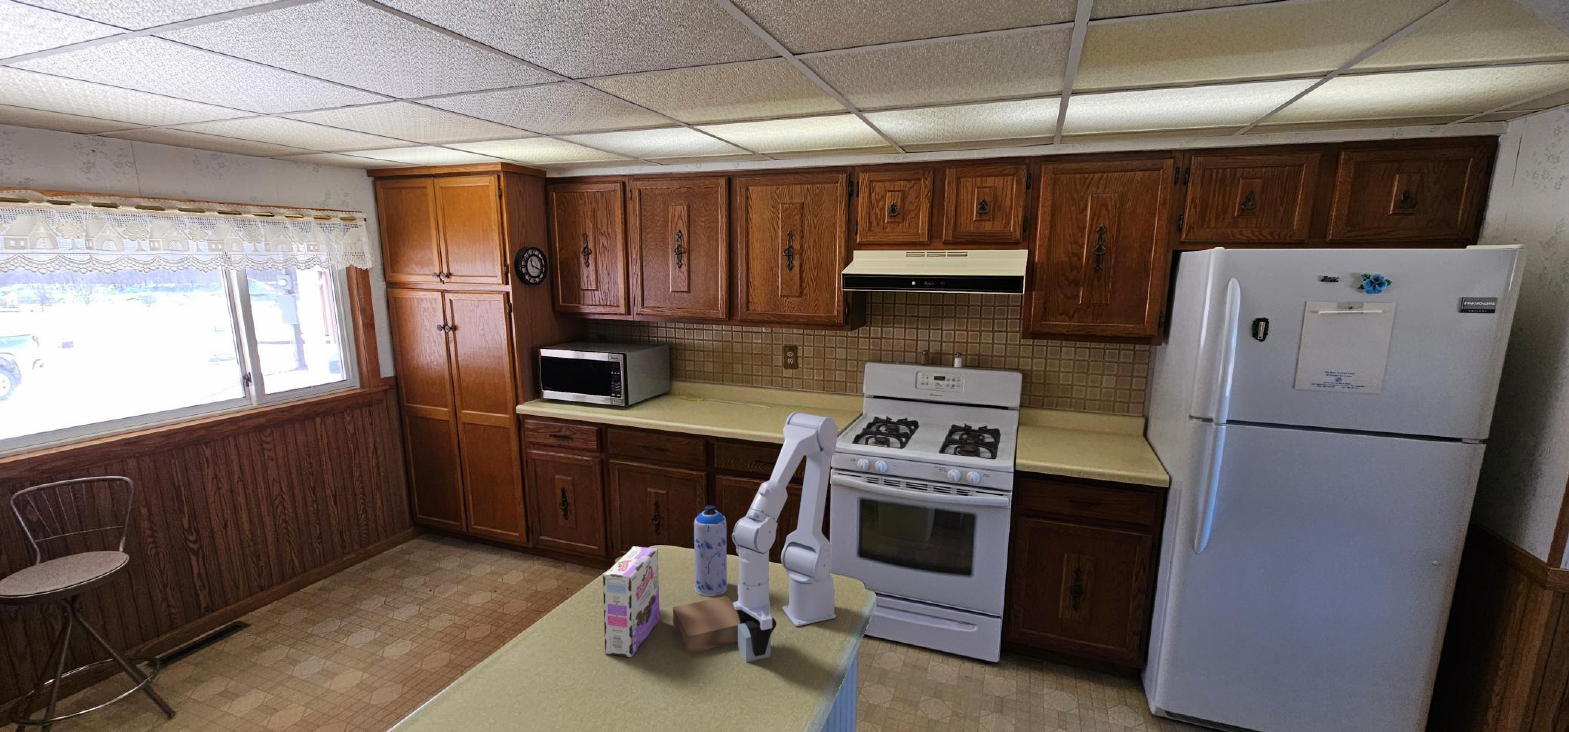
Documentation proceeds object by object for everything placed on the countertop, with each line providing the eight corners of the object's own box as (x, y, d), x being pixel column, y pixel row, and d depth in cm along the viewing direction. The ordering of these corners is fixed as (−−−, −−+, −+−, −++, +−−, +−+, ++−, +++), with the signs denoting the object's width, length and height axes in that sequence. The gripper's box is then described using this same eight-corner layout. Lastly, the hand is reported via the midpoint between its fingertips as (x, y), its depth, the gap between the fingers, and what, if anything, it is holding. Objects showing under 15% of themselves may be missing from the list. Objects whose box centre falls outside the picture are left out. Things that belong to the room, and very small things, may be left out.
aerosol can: (732, 582, 148) (731, 502, 146) (721, 598, 141) (720, 514, 138) (701, 578, 150) (700, 499, 147) (689, 594, 142) (687, 511, 140)
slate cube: (761, 642, 123) (761, 619, 123) (770, 656, 119) (770, 632, 118) (737, 648, 121) (737, 624, 121) (745, 662, 117) (745, 637, 116)
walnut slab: (727, 612, 135) (726, 595, 135) (746, 641, 124) (746, 622, 124) (673, 624, 130) (672, 607, 130) (688, 655, 119) (688, 636, 119)
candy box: (632, 658, 118) (629, 576, 116) (603, 654, 119) (601, 573, 117) (660, 620, 131) (659, 546, 129) (635, 617, 132) (633, 544, 130)
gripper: (723, 566, 123) (723, 630, 125) (746, 600, 110) (746, 671, 112) (756, 560, 126) (756, 623, 128) (782, 593, 112) (782, 662, 114)
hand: (754, 645), depth 120 cm, fingers open, 6 cm apart
